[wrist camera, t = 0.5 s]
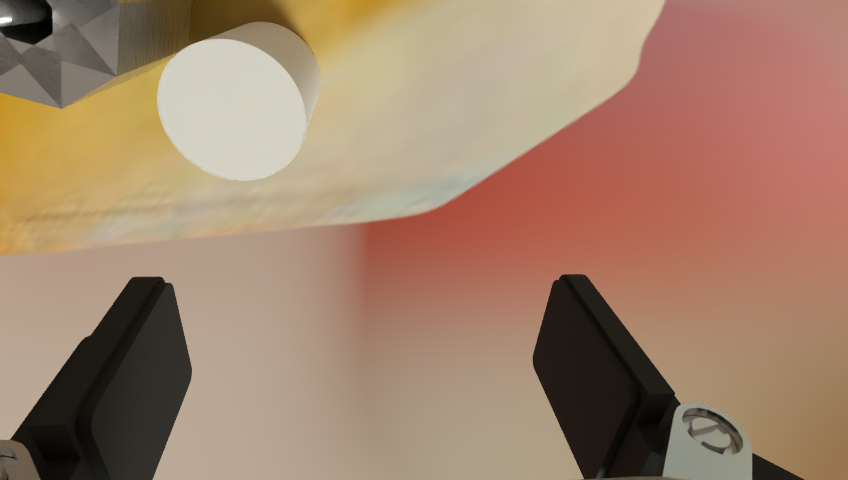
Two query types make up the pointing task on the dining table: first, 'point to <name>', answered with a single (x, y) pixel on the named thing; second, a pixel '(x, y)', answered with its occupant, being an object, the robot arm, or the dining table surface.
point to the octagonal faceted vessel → (90, 47)
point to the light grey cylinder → (240, 100)
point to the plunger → (24, 11)
